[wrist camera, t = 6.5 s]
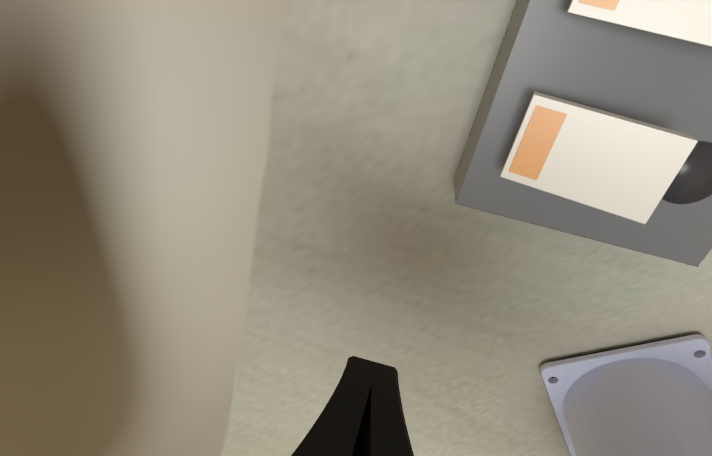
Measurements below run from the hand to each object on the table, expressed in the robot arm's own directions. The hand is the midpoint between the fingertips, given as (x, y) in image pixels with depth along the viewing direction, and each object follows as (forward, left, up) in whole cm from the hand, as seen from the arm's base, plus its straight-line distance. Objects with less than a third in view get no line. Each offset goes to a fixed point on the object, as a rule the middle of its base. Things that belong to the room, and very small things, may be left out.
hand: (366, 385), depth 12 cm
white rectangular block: (+2, -8, -7) cm, 11 cm away
